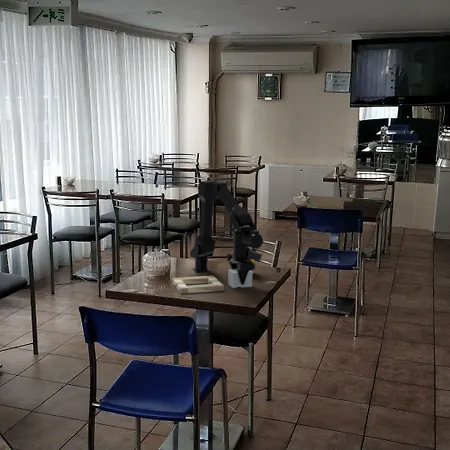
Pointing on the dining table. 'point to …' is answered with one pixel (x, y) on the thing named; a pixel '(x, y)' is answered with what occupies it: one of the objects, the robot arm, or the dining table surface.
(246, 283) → the grey-blue cabinet box
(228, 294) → the dining table surface
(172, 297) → the dining table surface
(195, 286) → the birch pocket board
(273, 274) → the dining table surface
